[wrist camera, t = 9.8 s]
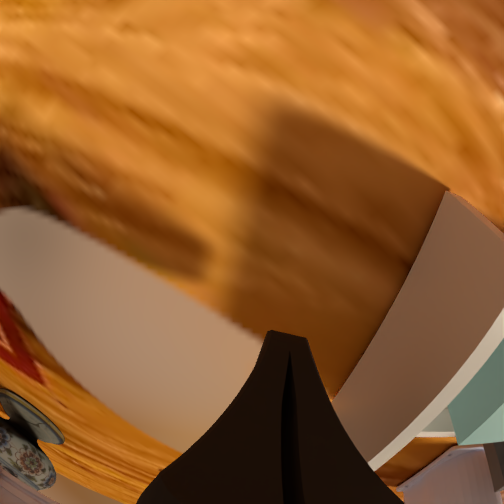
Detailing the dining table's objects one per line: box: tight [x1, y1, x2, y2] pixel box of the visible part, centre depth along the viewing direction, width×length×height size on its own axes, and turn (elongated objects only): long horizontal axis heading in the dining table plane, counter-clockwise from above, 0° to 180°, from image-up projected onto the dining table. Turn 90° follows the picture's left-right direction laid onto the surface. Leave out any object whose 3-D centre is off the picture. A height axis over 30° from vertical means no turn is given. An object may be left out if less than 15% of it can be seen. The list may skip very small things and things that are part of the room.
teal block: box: [447, 338, 504, 445], centre depth 11 cm, size 4×4×4 cm
